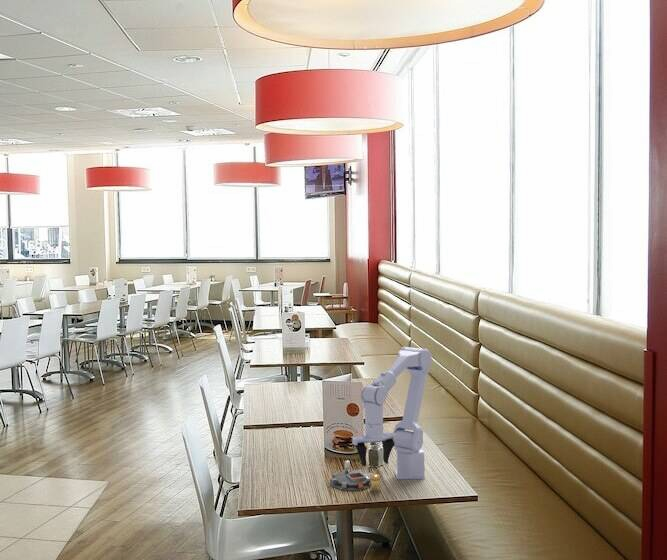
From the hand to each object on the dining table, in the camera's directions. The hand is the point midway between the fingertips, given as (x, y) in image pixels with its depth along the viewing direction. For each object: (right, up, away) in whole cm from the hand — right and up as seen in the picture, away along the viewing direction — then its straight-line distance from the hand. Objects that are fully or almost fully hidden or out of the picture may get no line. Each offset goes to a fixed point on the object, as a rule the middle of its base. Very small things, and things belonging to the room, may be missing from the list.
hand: (374, 463), depth 235 cm
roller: (0, -9, +1) cm, 9 cm away
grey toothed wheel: (-7, -8, +9) cm, 14 cm away
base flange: (-7, -8, +9) cm, 14 cm away
